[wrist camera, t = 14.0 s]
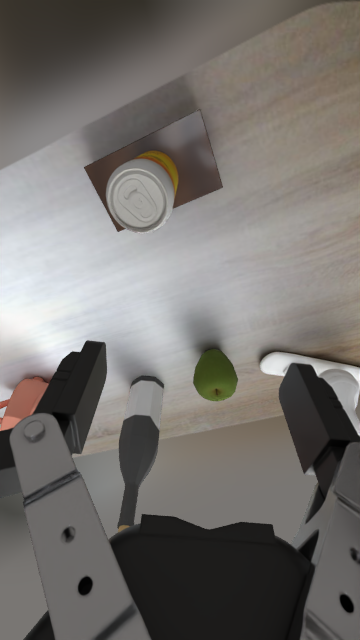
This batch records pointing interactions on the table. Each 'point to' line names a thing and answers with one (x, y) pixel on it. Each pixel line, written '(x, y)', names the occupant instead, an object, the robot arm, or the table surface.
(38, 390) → the teapot
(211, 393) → the apple
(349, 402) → the figurine
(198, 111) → the shelf
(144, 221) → the beer can
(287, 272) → the table surface
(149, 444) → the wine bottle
